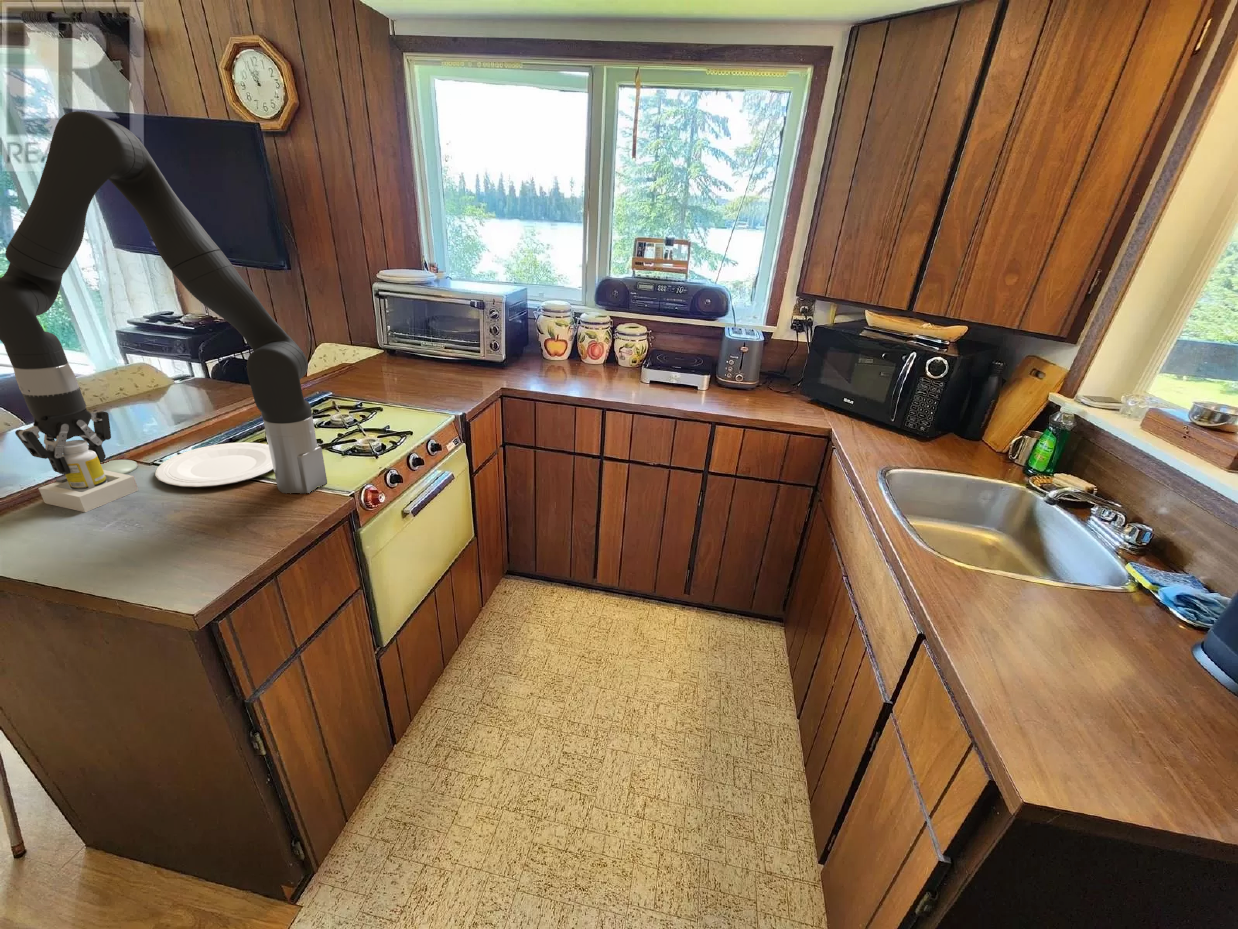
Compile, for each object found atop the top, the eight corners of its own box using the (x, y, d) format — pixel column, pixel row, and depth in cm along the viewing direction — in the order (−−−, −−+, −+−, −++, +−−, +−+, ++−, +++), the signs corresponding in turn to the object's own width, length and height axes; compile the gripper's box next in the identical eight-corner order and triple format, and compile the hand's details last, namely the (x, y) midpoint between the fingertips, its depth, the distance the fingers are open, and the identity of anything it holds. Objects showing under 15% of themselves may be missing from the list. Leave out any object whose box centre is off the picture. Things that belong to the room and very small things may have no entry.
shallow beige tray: (138, 490, 108) (132, 473, 107) (85, 512, 99) (78, 494, 98) (100, 482, 110) (94, 465, 108) (45, 503, 101) (37, 485, 99)
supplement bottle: (105, 478, 107) (89, 436, 103) (110, 487, 104) (94, 444, 100) (69, 485, 103) (51, 442, 99) (73, 495, 100) (54, 451, 96)
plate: (254, 440, 136) (252, 434, 136) (306, 467, 126) (305, 460, 125) (137, 470, 116) (134, 463, 116) (187, 505, 106) (185, 497, 105)
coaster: (147, 465, 118) (147, 463, 118) (105, 481, 110) (104, 479, 110) (116, 459, 119) (115, 457, 119) (72, 474, 111) (71, 472, 111)
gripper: (17, 401, 88) (54, 485, 95) (109, 381, 101) (135, 457, 108) (-16, 395, 89) (23, 479, 96) (78, 376, 102) (107, 451, 109)
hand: (82, 467), depth 102 cm, fingers closed on supplement bottle, 5 cm apart
